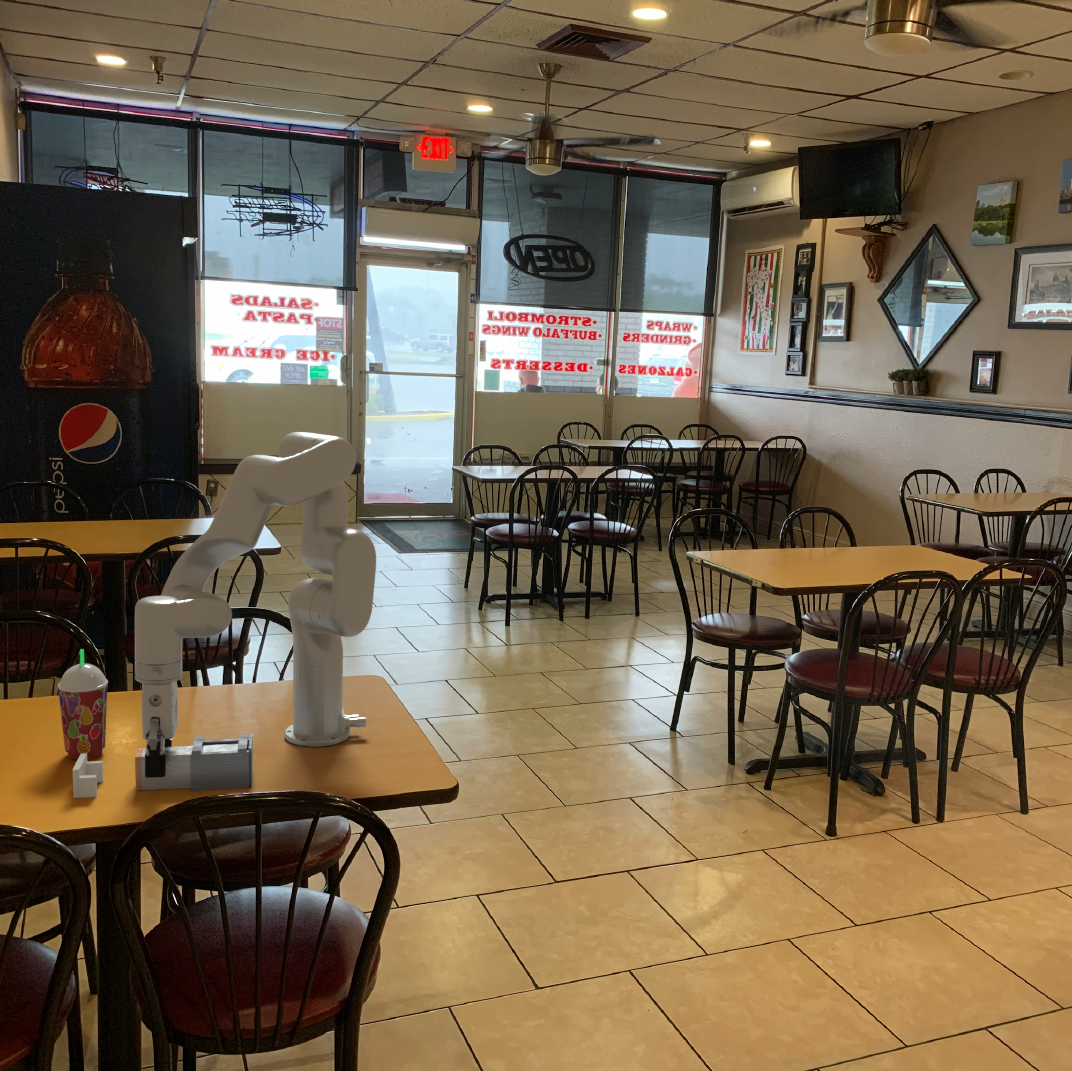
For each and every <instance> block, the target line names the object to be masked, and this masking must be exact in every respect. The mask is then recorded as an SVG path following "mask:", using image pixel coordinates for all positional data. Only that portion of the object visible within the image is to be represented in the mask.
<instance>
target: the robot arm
mask: <svg viewBox="0 0 1072 1071" xmlns="http://www.w3.org/2000/svg"><path fill="white" fill-rule="evenodd" d="M277 454H278V456H272V455H265V454H253V455H249V456H246V457H245V458H243V459H242V460H241V461H240V462H239V463H238V465H237V466H236V469H235V470H234V472H233V475H232V477H231V478H230V481H229V484H228V486H227V488H226V490H225V493H224V494H223V497H222V499H221V501H220V504H219V506H218V508H217V509H216V513H215V514H214V517H213V519H212V521H211V523H210V525H209V527H208V528H207V530H206V531H205V532H204V533H203V534H201V535H200V536H199V537H198V538H197V539H196V540H195V541H194V542H193V543H191V545H190V546H189V547H188V548H186V550H185V551H184V552H183V553H182V554H181V555H180V557H179V558H178V559H177V561H176V562H175V563H174V565H173V567H172V569H171V571H170V574H169V576H168V578H167V580H166V582H165V584H164V586H163V589H162V591H161V594H160V595H152V596H146V597H142V598H141V599H139V600H137V602H136V604H135V606H134V680H135V681H137V682H138V683H141V685H142V686H141V719H142V720H141V722H142V723H141V724H142V739H143V740H144V741H146V746H145V748H146V754H145V777H146V778H155V777H165V775H166V753H164V747H173V746H172V743H173V739H174V738H175V735H176V732H177V729H178V725H179V711H178V710H179V708H178V705H179V704H178V681H180V680H181V679H182V678H183V639H187V638H202V639H203V638H212V637H215V636H218V635H220V634H222V633H224V632H225V631H226V630H227V629H228V627H229V626H230V624H231V621H232V618H233V611H232V609H231V606H230V604H229V603H228V602H227V600H225V599H224V598H222V597H221V596H219V595H216V594H215V593H210V592H207V591H205V590H204V589H205V587H206V585H207V583H208V581H209V579H210V577H211V576H212V575H213V573H215V572H216V570H217V569H218V568H219V567H221V566H223V564H225V563H227V562H228V561H230V560H232V559H235V558H237V557H239V556H241V555H243V554H246V553H248V552H250V551H252V550H253V549H254V548H255V547H256V546H257V544H258V542H259V539H260V536H261V534H262V533H263V532H262V531H263V530H264V528H265V525H266V523H267V521H268V518H269V517H270V513H271V512H272V509H273V507H274V506H279V507H291V506H292V507H293V506H296V505H300V504H301V503H303V504H302V506H303V508H302V512H303V513H302V522H301V532H300V533H301V536H300V550H299V554H300V559H301V562H302V564H303V565H304V566H305V567H306V568H307V569H308V570H312V571H314V572H317V573H321V574H324V575H328V576H332V580H329V579H324V578H319V577H311V578H310V577H309V578H305V579H302V580H301V581H299V582H298V583H296V585H294V587H293V588H292V590H291V591H290V593H289V597H288V602H287V603H288V604H287V605H288V606H287V607H288V608H287V609H288V616H289V620H290V626H291V631H292V633H291V634H292V644H293V645H292V646H293V649H292V650H293V651H292V652H293V653H292V654H293V655H292V656H293V660H292V663H293V664H292V668H293V669H292V675H293V676H292V685H293V686H292V689H293V692H292V696H293V697H292V698H293V700H292V717H293V718H292V724H290V725H289V726H288V727H287V728H286V729H285V731H284V737H285V740H287V742H289V743H291V744H293V745H297V746H300V747H301V746H302V747H310V748H311V747H313V748H315V747H317V748H319V747H327V746H328V747H329V746H333V745H337V744H340V743H342V742H344V741H346V740H348V738H349V737H350V736H351V728H366V727H367V718H366V717H362V716H361V717H359V714H352V715H351V714H349V715H348V714H347V713H345V712H344V711H345V710H344V707H343V701H344V700H343V699H344V698H343V695H344V694H343V690H344V689H343V687H344V686H343V684H344V683H343V681H344V648H343V647H344V646H343V640H342V637H344V638H345V637H346V638H352V637H356V636H358V635H360V634H361V633H362V632H363V631H364V630H365V629H366V628H367V626H368V624H369V622H370V619H371V616H372V612H373V604H374V592H375V582H376V581H375V580H376V572H377V571H376V570H377V553H376V547H375V545H374V543H373V541H372V539H371V537H370V536H368V535H367V534H366V533H365V532H363V531H361V530H359V529H355V528H351V527H349V494H348V489H347V486H346V483H345V481H346V480H347V479H348V478H349V477H350V476H351V474H352V473H353V472H354V470H355V467H356V464H357V455H356V451H355V448H354V447H353V445H352V444H351V442H350V441H348V440H347V439H345V438H343V437H340V436H337V435H330V434H324V433H323V434H322V433H315V432H305V431H304V432H303V431H302V432H301V431H294V432H289V433H287V434H285V435H284V436H283V437H282V438H281V439H280V441H279V444H278V446H277Z"/></svg>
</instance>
